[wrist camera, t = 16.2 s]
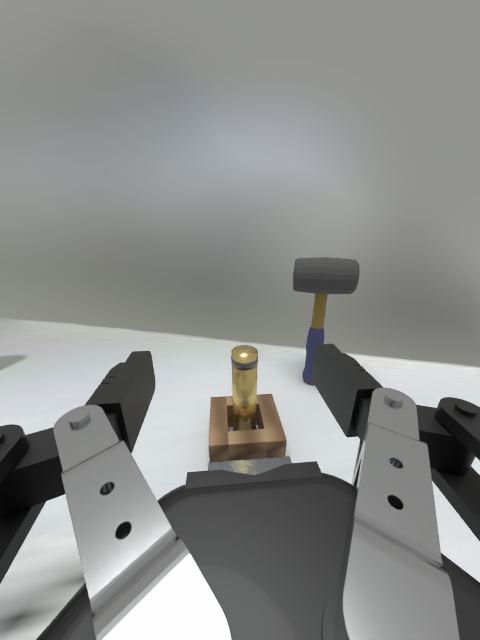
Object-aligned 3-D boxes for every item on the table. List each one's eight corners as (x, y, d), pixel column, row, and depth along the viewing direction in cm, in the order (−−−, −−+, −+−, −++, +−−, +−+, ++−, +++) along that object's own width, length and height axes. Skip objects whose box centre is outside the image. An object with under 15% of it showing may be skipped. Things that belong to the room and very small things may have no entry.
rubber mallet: (334, 375, 62) (354, 255, 51) (339, 394, 55) (364, 260, 44) (285, 370, 64) (294, 254, 53) (284, 387, 57) (294, 259, 46)
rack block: (210, 468, 38) (208, 446, 36) (212, 417, 48) (210, 397, 46) (284, 463, 39) (286, 440, 37) (270, 413, 49) (271, 393, 47)
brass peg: (233, 448, 41) (232, 358, 35) (232, 430, 45) (230, 345, 39) (257, 447, 42) (259, 357, 35) (254, 428, 46) (255, 344, 39)
